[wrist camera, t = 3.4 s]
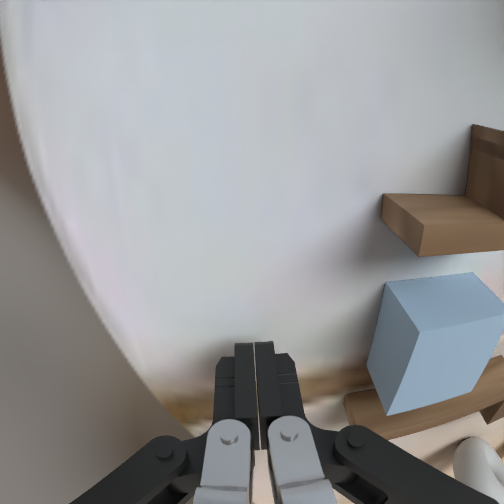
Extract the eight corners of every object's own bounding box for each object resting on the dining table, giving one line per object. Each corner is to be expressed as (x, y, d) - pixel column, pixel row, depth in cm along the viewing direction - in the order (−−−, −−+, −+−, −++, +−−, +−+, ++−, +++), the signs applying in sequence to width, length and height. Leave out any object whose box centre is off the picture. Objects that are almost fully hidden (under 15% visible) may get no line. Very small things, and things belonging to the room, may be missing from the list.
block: (384, 279, 13) (419, 332, 10) (470, 270, 13) (511, 311, 10) (365, 362, 15) (386, 416, 12) (443, 347, 15) (471, 391, 12)
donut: (492, 434, 23) (522, 499, 14) (468, 452, 24) (495, 517, 15) (465, 424, 20) (504, 510, 11) (435, 446, 21) (467, 532, 12)
